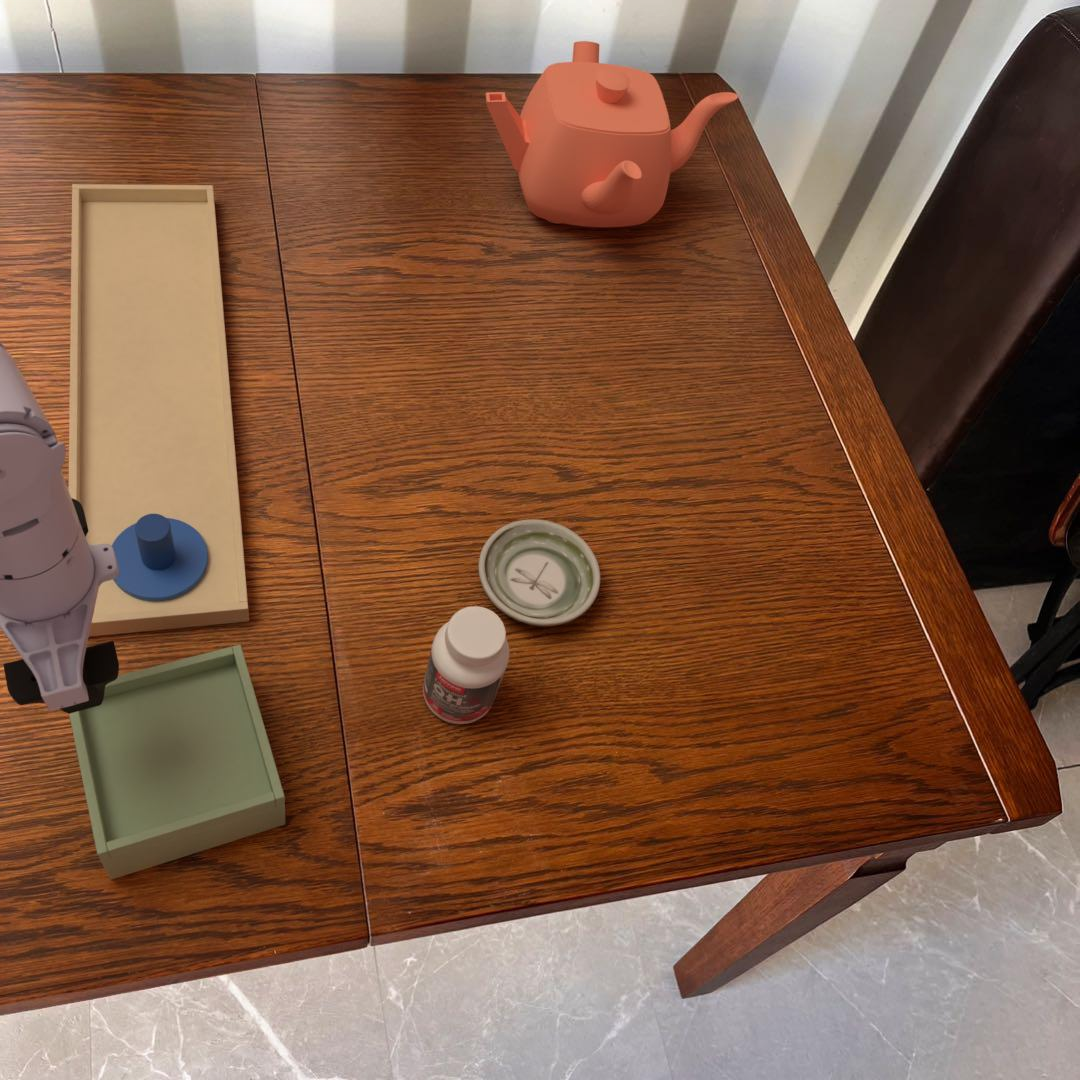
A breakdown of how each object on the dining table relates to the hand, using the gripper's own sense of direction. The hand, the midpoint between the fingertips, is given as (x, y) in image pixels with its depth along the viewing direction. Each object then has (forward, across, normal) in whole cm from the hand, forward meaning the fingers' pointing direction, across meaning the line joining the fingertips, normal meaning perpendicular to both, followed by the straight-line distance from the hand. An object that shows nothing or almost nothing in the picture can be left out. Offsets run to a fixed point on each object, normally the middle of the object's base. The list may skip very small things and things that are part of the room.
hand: (72, 648), depth 67 cm
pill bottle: (+10, -6, -24) cm, 27 cm away
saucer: (+10, +1, -33) cm, 35 cm away
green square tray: (+10, -6, -4) cm, 12 cm away
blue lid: (+9, +10, -6) cm, 15 cm away
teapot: (+11, +43, -56) cm, 71 cm away
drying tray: (+10, +27, -9) cm, 30 cm away
